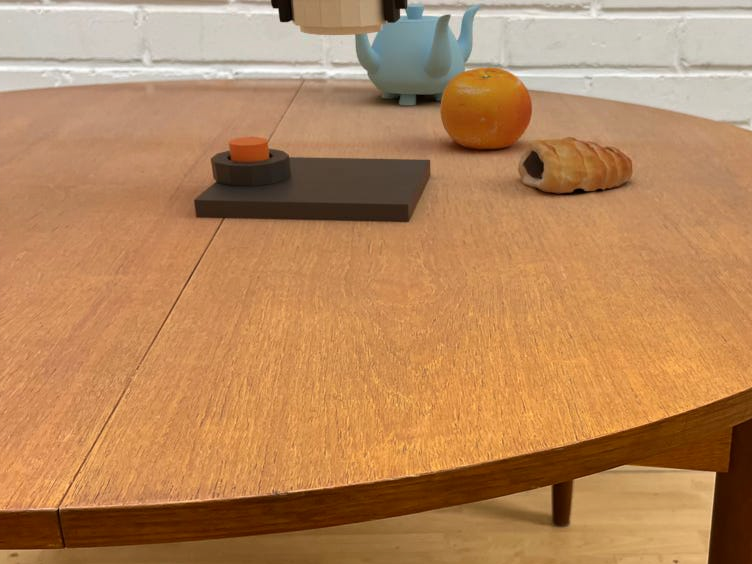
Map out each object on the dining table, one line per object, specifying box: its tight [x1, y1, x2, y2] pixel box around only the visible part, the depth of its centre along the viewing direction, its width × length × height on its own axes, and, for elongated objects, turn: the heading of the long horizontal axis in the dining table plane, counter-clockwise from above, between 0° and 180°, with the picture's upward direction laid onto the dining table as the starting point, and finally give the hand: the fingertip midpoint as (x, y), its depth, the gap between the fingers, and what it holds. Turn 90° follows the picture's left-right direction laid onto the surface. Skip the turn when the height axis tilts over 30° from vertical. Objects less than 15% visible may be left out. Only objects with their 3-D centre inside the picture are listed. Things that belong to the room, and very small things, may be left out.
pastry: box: [517, 136, 634, 195], centre depth 80 cm, size 9×7×4 cm
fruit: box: [440, 67, 533, 151], centre depth 91 cm, size 8×8×8 cm
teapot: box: [354, 3, 484, 106], centre depth 112 cm, size 13×13×10 cm
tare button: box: [228, 136, 270, 162], centre depth 76 cm, size 3×3×2 cm
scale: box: [193, 148, 431, 223], centre depth 77 cm, size 16×14×3 cm
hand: (340, 18), depth 70 cm, fingers closed on bowl, 7 cm apart
